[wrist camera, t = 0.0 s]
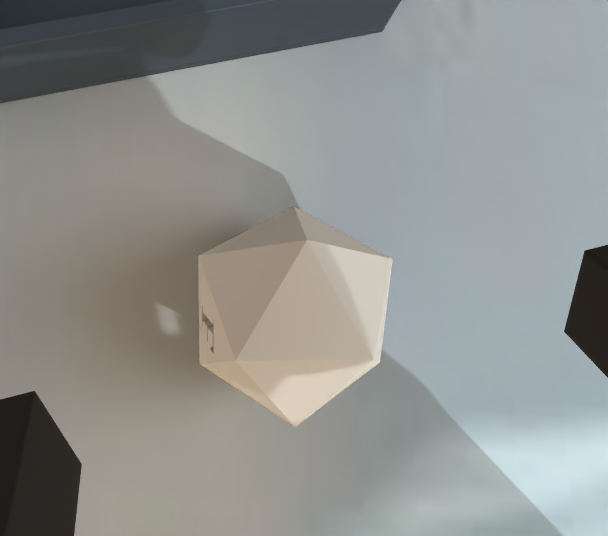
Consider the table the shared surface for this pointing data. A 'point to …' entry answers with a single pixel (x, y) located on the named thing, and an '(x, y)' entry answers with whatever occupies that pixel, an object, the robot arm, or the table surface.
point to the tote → (159, 36)
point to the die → (292, 312)
